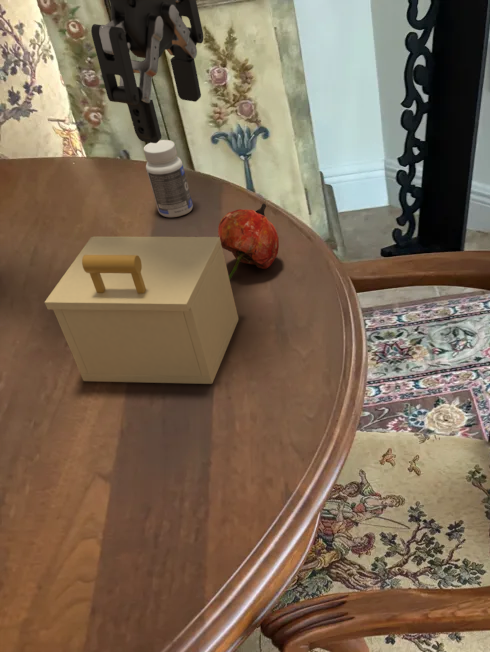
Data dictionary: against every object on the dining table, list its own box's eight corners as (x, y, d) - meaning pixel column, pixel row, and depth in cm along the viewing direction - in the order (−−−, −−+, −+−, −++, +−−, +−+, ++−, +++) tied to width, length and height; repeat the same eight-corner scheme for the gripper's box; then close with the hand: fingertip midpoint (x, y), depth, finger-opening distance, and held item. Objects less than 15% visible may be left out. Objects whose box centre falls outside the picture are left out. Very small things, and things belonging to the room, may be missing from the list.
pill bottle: (199, 211, 106) (183, 146, 100) (166, 221, 104) (148, 156, 98) (185, 198, 109) (168, 135, 102) (153, 208, 107) (134, 144, 101)
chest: (212, 384, 80) (190, 307, 73) (83, 381, 81) (50, 305, 75) (238, 319, 88) (221, 244, 81) (120, 317, 89) (94, 243, 82)
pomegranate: (263, 303, 94) (307, 230, 93) (218, 271, 88) (263, 193, 87) (232, 286, 98) (273, 216, 97) (187, 254, 93) (230, 179, 92)
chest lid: (188, 311, 73) (176, 267, 70) (47, 309, 74) (28, 266, 71) (221, 244, 81) (211, 202, 78) (94, 243, 82) (79, 202, 79)
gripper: (124, -116, 68) (169, 82, 81) (33, -60, 60) (99, 149, 73) (203, -108, 67) (236, 92, 80) (120, -50, 59) (172, 161, 72)
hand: (171, 119), depth 77 cm, fingers open, 8 cm apart
